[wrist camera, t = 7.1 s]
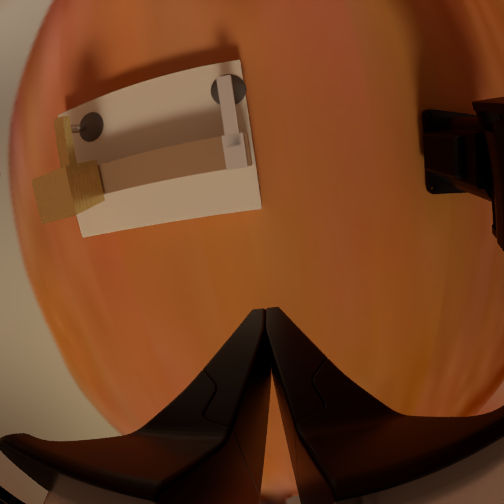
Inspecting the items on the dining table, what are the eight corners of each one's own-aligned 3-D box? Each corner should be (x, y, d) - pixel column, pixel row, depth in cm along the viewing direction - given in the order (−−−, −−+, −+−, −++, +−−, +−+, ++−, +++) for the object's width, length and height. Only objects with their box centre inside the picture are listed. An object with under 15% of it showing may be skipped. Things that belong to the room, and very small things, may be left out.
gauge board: (242, 64, 16) (239, 49, 13) (263, 204, 20) (263, 216, 17) (66, 115, 17) (41, 115, 14) (90, 232, 21) (68, 247, 18)
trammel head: (100, 111, 16) (57, 108, 11) (115, 195, 18) (76, 215, 14) (68, 124, 16) (23, 127, 12) (82, 204, 18) (42, 224, 14)
